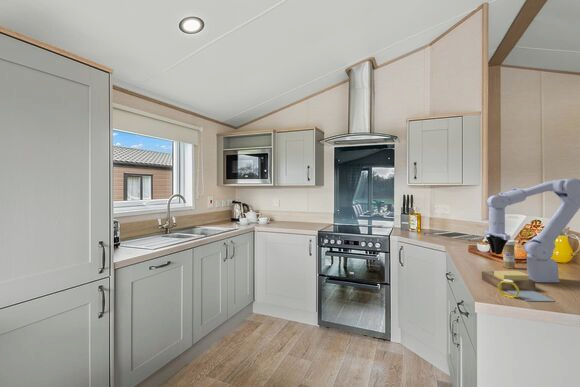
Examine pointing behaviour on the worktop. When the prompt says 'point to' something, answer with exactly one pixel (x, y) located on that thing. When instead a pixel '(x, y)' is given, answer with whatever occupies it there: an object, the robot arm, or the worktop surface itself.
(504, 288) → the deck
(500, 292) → the watch
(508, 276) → the yellow butter block
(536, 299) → the mat
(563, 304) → the worktop surface
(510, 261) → the sprinkles bottle
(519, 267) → the worktop surface
